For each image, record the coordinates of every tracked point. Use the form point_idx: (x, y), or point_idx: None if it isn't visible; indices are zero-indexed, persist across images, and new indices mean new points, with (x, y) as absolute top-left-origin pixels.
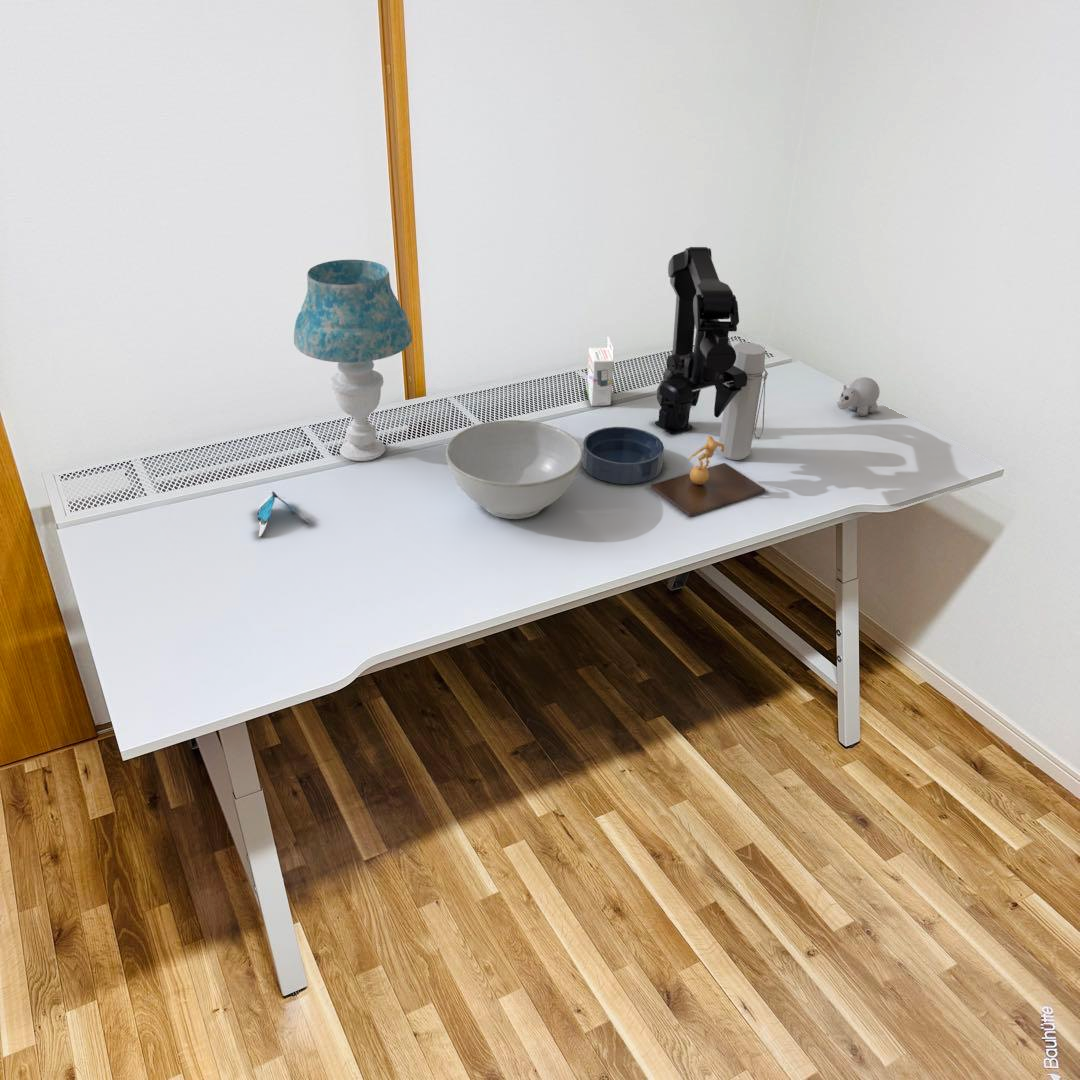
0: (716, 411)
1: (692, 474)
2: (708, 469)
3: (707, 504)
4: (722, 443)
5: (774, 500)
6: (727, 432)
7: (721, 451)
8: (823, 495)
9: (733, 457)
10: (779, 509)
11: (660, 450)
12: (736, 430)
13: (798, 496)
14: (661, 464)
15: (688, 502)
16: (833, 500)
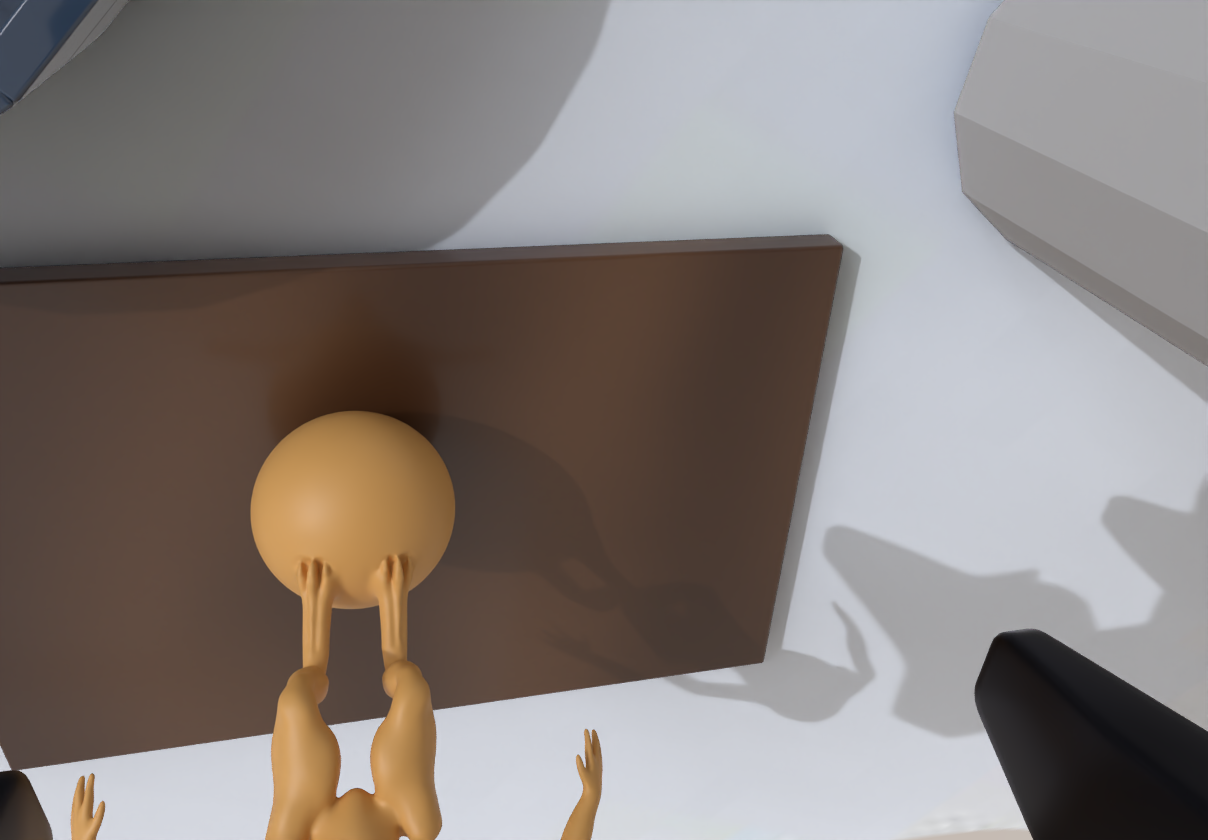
0: (1055, 765)
1: (256, 534)
2: (619, 285)
3: (231, 714)
4: (1044, 105)
5: (727, 720)
6: (1146, 223)
7: (982, 85)
8: (988, 742)
9: (983, 210)
10: (672, 791)
11: (7, 21)
12: (1202, 341)
13: (877, 720)
14: (77, 53)
15: (83, 659)
16: (978, 784)
